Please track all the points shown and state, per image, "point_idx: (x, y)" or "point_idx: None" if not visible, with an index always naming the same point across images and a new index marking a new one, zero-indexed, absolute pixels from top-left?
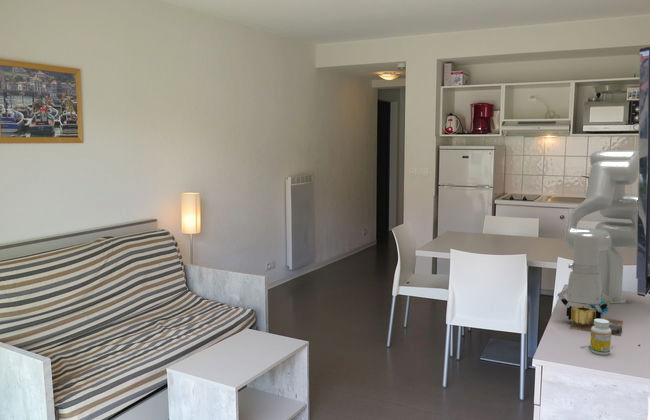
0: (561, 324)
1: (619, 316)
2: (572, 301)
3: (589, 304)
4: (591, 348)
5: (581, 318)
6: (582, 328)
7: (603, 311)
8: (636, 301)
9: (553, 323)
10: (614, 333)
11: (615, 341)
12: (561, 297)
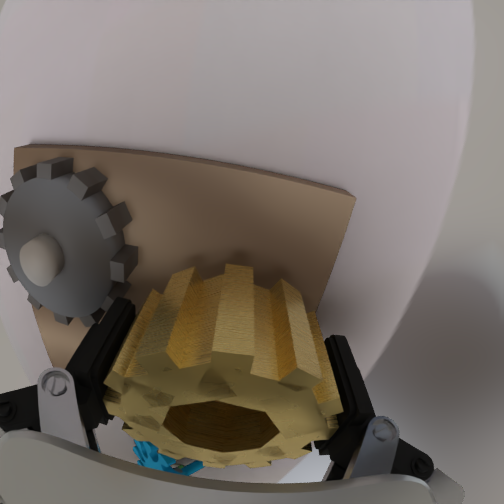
0: (353, 332)
1: (103, 431)
2: (386, 482)
3: None
4: None
5: (252, 298)
6: (243, 230)
7: (146, 453)
8: None
9: (391, 332)
10: (33, 166)
11: (54, 99)
12: (437, 487)
